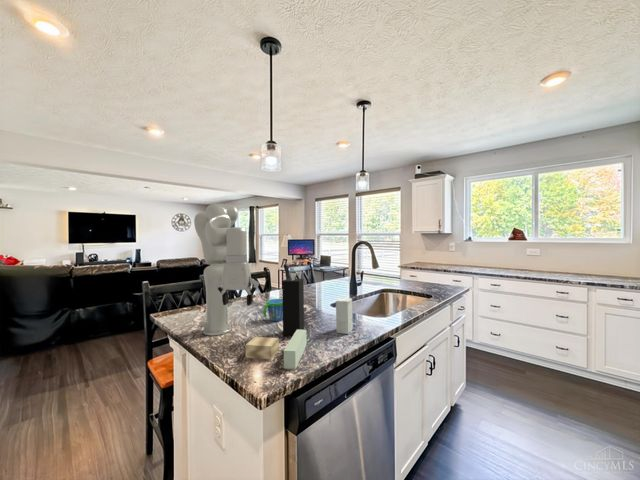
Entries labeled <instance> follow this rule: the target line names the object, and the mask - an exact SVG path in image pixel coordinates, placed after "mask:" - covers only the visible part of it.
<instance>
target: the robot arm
mask: <svg viewBox="0 0 640 480" xmlns="http://www.w3.org/2000/svg"><path fill="white" fill-rule="evenodd" d="M238 212H239V211H238V209H237V207H236V206H235V205H233V204H225V203H224V204H223V203H213V204H212V203H211V204H209V205H208V206H207V207H206V209H205V211H204V212H198V213H197V214H196V215H195V217H194V220H193V223H194V229H195V231H196V234H197V236H198V237H199V240H200V242H201V247H202V252H203V253H202V254H203V259H204V261H205V263H206V265H208V266H206V267H205V268H204V269H203V280H204V285H205V301H206V303H205V304H206V305H205V307H206V309H205V310H206V313H205V314H206V315H205V316H206V317H205V318H206V321H200V322H199V325H198V327H200V328H202V327H203V330H202V334H204V335H206V336H220V335H224V334H228V333H229V332H230V331H232V326H231V325H230V324H229V314H228V312H229V308H228V307H229V306H228V305H229V303H230V302H229V299H230V297H229V293H228V292H229V291H245V292H246V293H247V295H246V306H251V305H252V304H253V295H254V292H256V291H257V289H258V288H259V285H260V282H258V281H257V280H255V279H254V278H252V276H251V275H252V273H251V268H250V264H249V262H248V252H247V251H248V249H247V247H248V245H247V243H248V242H247V241H248V239H247V238H248V237H247V229H246V228H244V227H238V226H237V227H233V225H234V224H235V223H236V222H237V220H238V217H239V213H238ZM252 284H253V287H252Z"/></svg>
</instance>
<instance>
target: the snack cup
mask: <svg viewBox="0 0 640 480" xmlns="http://www.w3.org/2000/svg"><path fill="white" fill-rule="evenodd" d="M265 303H266V304H265V305H264V307H263V312H262V315H263V316H264V317H265V318H266V317H267V316H268V318H269V320H270V321H271V322H281V321H283V298H273V299H269V300H267V301H266V302H265ZM267 313H268V315H267Z"/></svg>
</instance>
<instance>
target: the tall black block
mask: <svg viewBox="0 0 640 480" xmlns="http://www.w3.org/2000/svg"><path fill="white" fill-rule="evenodd" d="M289 274H290V277H291V278H286V279H284V280H282V281H281V284H282V286H281V287H282V292H281V293H282V294H281V295H282V299H283V320H282V337H291V338H292V337H293V335H294V333H295V332H296V330H305V307H304V306H305V304H304V303H305V295H304V294H305V293H304V292H305V291H304V285H305V284H304V281H305V279H304V278H296V276H297V273H296V272H289Z"/></svg>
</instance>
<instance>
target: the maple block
mask: <svg viewBox="0 0 640 480" xmlns="http://www.w3.org/2000/svg"><path fill="white" fill-rule="evenodd" d="M244 348H245V358H246V359H247V358H248V359H260V360H261V359H262V360H273V359H274V357H275V356H276V355H277V353H278V352H279V351H280V338H279V337H267V336H266V337H263V336H262V337H261V336H254V337H253V338H252V339H250V340H249V341H248V342H247V343H246V344H245V347H244Z"/></svg>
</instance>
